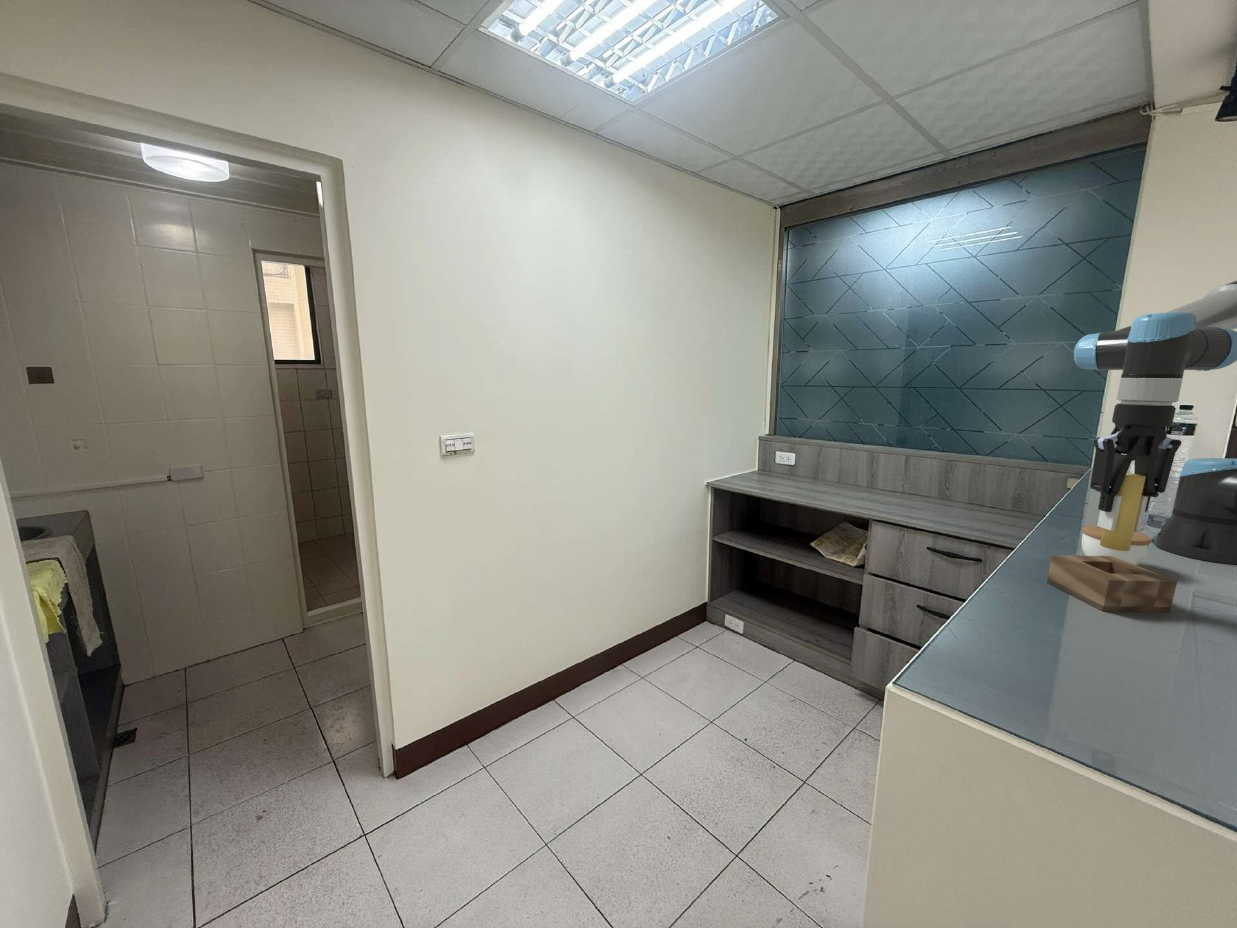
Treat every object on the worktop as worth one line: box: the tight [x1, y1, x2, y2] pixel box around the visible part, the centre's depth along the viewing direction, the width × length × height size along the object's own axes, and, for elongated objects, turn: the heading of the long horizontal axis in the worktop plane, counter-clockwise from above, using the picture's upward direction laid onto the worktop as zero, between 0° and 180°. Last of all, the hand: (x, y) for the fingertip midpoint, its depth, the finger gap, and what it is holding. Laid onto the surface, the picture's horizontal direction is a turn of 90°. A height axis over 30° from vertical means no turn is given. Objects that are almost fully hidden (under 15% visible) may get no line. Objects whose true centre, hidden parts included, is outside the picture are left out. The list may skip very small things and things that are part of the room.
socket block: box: [1046, 554, 1178, 613], centre depth 94 cm, size 12×12×6 cm
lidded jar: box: [1081, 524, 1152, 566], centre depth 109 cm, size 11×11×9 cm
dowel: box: [1100, 472, 1146, 551], centre depth 91 cm, size 4×4×14 cm
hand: (1118, 528), depth 92 cm, fingers closed on dowel, 4 cm apart
